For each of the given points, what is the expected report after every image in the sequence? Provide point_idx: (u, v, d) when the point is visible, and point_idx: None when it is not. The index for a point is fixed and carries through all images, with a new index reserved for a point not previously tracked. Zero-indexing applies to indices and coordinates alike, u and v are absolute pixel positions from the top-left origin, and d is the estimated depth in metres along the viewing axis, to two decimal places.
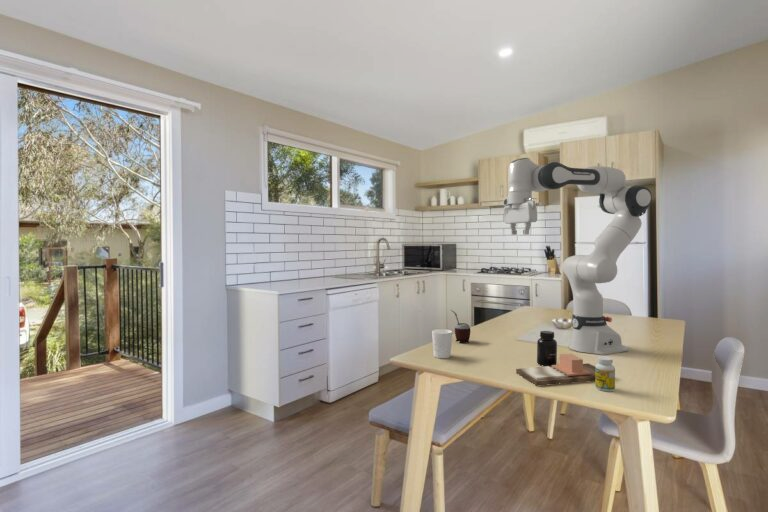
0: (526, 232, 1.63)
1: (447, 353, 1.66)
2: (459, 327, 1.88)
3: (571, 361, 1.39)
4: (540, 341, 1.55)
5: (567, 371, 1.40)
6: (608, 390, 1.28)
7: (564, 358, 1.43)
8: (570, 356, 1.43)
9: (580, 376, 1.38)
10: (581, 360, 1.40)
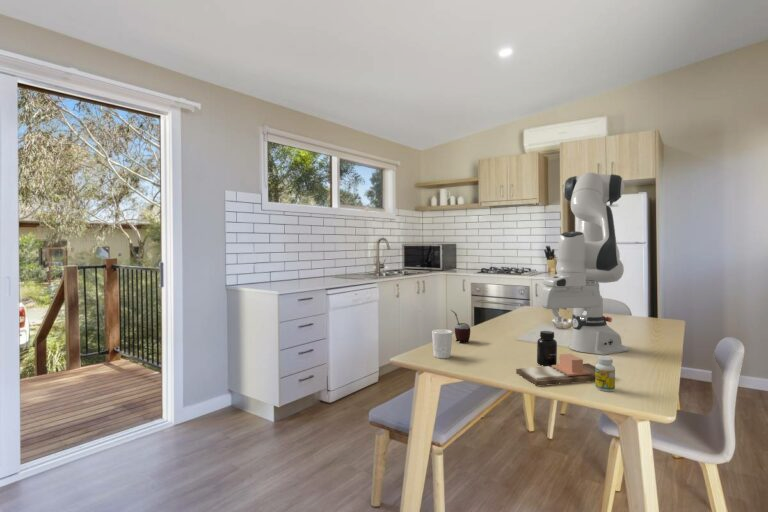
0: None
1: (447, 353, 1.66)
2: (459, 327, 1.88)
3: (571, 361, 1.39)
4: (540, 341, 1.55)
5: (567, 371, 1.40)
6: (608, 390, 1.28)
7: (564, 358, 1.43)
8: (570, 356, 1.43)
9: (580, 376, 1.38)
10: (581, 360, 1.40)
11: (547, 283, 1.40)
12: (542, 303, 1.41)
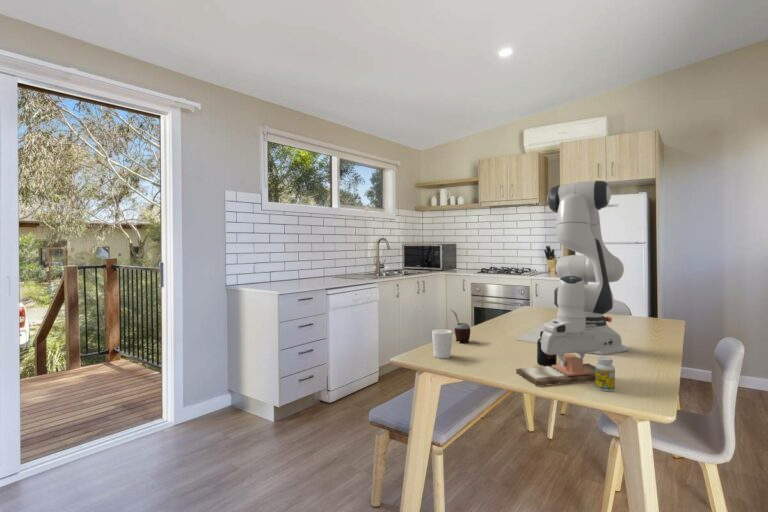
0: None
1: (447, 353, 1.66)
2: (459, 327, 1.88)
3: (571, 361, 1.39)
4: (540, 341, 1.55)
5: (567, 371, 1.40)
6: (608, 390, 1.28)
7: (564, 358, 1.43)
8: (570, 356, 1.43)
9: (580, 376, 1.38)
10: (581, 360, 1.40)
11: (547, 328, 1.41)
12: (542, 348, 1.42)
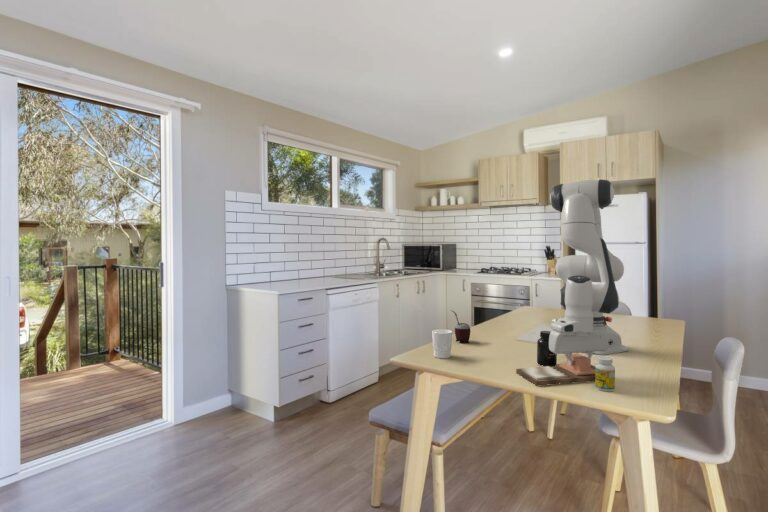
0: None
1: (447, 353, 1.66)
2: (459, 327, 1.88)
3: (579, 360, 1.40)
4: (540, 341, 1.55)
5: (575, 370, 1.41)
6: (608, 390, 1.28)
7: (572, 357, 1.44)
8: (578, 355, 1.44)
9: (580, 376, 1.38)
10: (589, 359, 1.40)
11: (555, 328, 1.41)
12: (550, 347, 1.42)
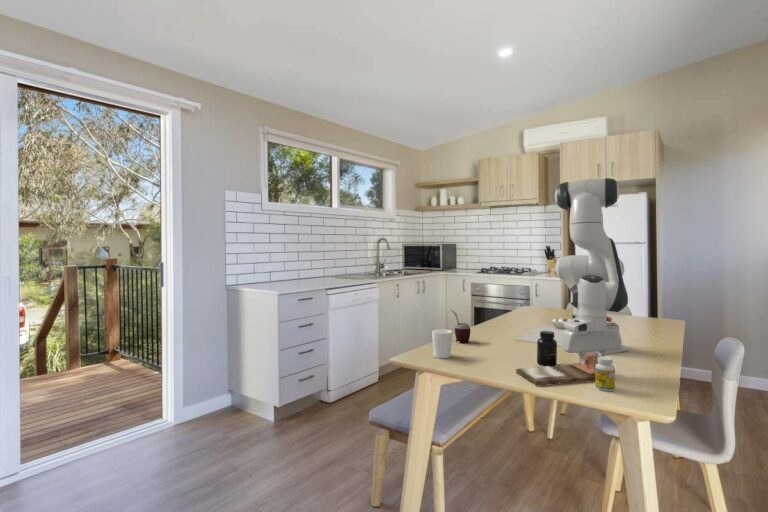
0: None
1: (447, 353, 1.66)
2: (459, 327, 1.88)
3: (592, 359, 1.41)
4: (540, 341, 1.55)
5: (588, 369, 1.42)
6: (608, 390, 1.28)
7: (585, 356, 1.45)
8: (591, 354, 1.45)
9: (580, 376, 1.38)
10: None
11: (568, 327, 1.42)
12: (563, 346, 1.43)
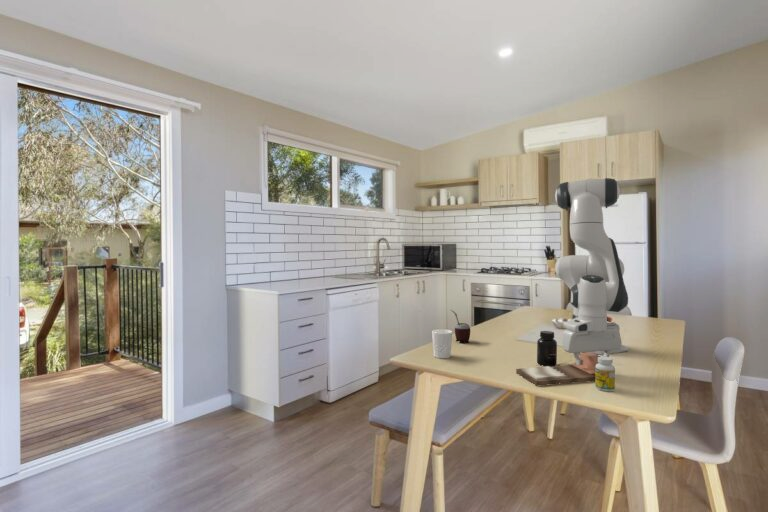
0: None
1: (447, 353, 1.66)
2: (459, 327, 1.88)
3: (593, 359, 1.41)
4: (540, 341, 1.55)
5: (589, 369, 1.42)
6: (608, 390, 1.28)
7: (585, 356, 1.45)
8: (591, 354, 1.45)
9: (580, 376, 1.38)
10: None
11: (568, 327, 1.42)
12: (563, 346, 1.43)
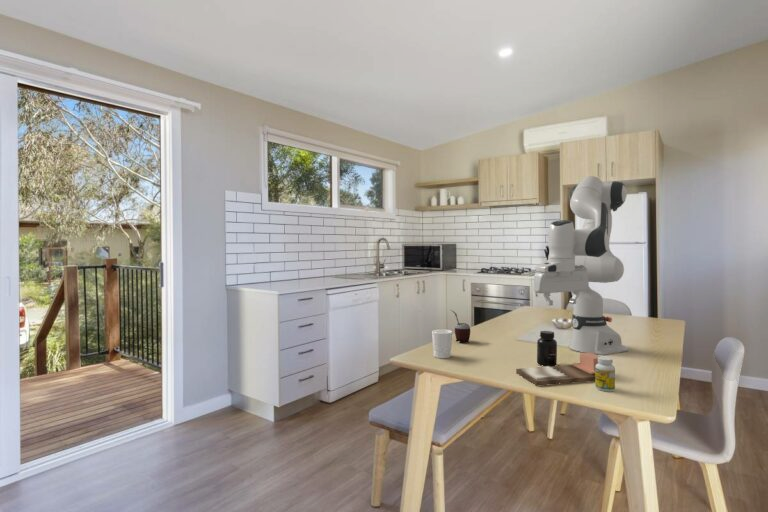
0: None
1: (447, 353, 1.66)
2: (459, 327, 1.88)
3: (593, 359, 1.41)
4: (540, 341, 1.55)
5: (589, 369, 1.42)
6: (608, 390, 1.28)
7: (585, 356, 1.45)
8: (591, 354, 1.45)
9: (580, 376, 1.38)
10: None
11: (539, 269, 1.49)
12: (534, 288, 1.50)
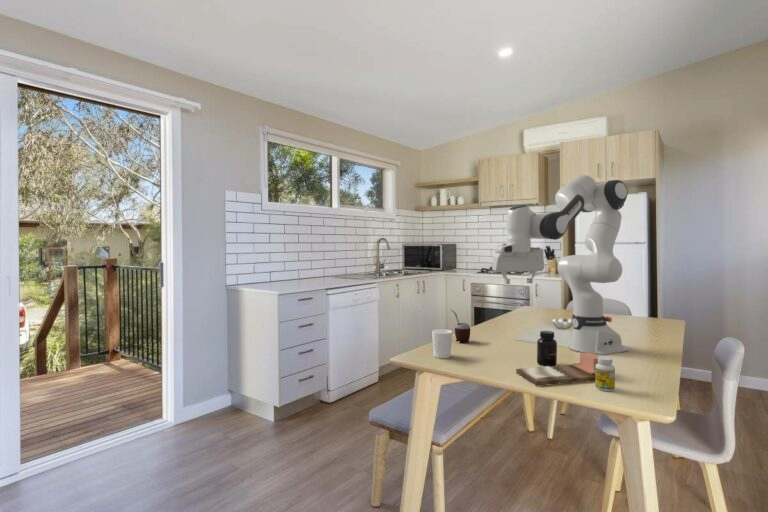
0: None
1: (447, 353, 1.66)
2: (459, 327, 1.88)
3: (593, 359, 1.41)
4: (540, 341, 1.55)
5: (589, 369, 1.42)
6: (608, 390, 1.28)
7: (585, 356, 1.45)
8: (591, 354, 1.45)
9: (580, 376, 1.38)
10: None
11: (497, 250, 1.62)
12: (493, 267, 1.62)
